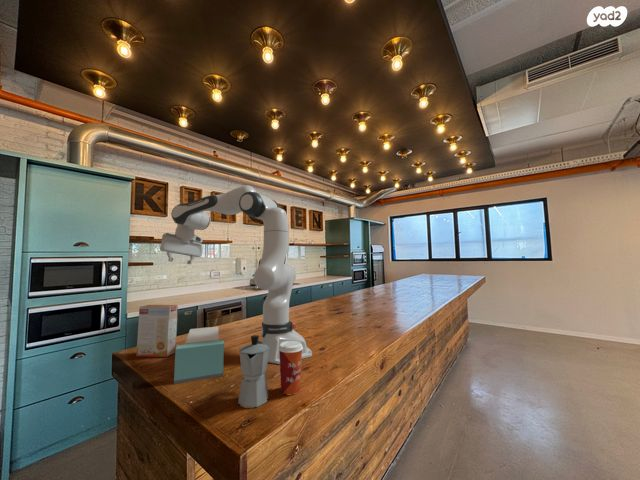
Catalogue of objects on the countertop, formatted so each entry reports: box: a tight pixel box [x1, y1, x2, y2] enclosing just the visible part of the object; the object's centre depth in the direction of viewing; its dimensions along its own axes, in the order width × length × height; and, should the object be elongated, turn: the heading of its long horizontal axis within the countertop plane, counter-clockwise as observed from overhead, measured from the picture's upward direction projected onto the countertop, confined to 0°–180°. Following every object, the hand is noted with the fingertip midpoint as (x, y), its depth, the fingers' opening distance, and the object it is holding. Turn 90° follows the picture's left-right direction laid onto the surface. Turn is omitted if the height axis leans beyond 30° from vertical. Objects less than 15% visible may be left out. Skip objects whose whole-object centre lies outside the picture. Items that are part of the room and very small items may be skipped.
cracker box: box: [135, 304, 179, 358], centre depth 108 cm, size 14×6×21 cm, turn 84°
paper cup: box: [278, 341, 303, 395], centre depth 78 cm, size 8×8×14 cm
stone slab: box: [184, 326, 220, 345], centre depth 107 cm, size 12×22×4 cm, turn 23°
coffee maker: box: [237, 334, 270, 409], centre depth 73 cm, size 15×9×18 cm, turn 5°
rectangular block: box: [173, 339, 225, 385], centre depth 103 cm, size 15×39×11 cm, turn 23°
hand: (180, 262), depth 127 cm, fingers open, 8 cm apart
